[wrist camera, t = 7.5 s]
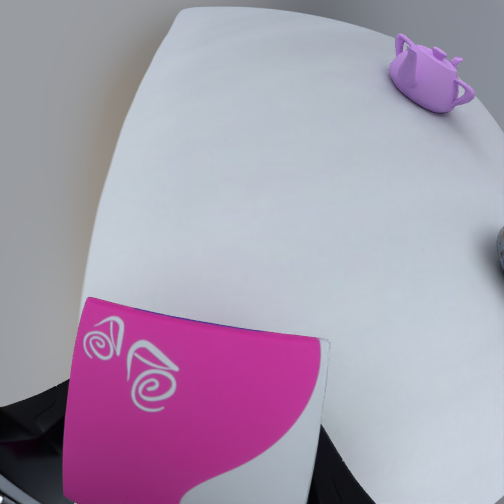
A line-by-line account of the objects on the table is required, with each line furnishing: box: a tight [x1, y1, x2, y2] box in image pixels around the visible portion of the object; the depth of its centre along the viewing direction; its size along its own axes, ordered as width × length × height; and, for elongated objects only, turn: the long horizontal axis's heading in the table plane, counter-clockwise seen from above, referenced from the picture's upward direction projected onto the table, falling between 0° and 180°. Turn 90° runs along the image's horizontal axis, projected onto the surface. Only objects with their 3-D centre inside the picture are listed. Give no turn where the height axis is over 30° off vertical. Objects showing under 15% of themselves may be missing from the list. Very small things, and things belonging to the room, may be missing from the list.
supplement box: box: [63, 297, 330, 504], centre depth 9 cm, size 6×6×11 cm
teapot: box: [389, 34, 475, 113], centre depth 26 cm, size 12×14×9 cm
